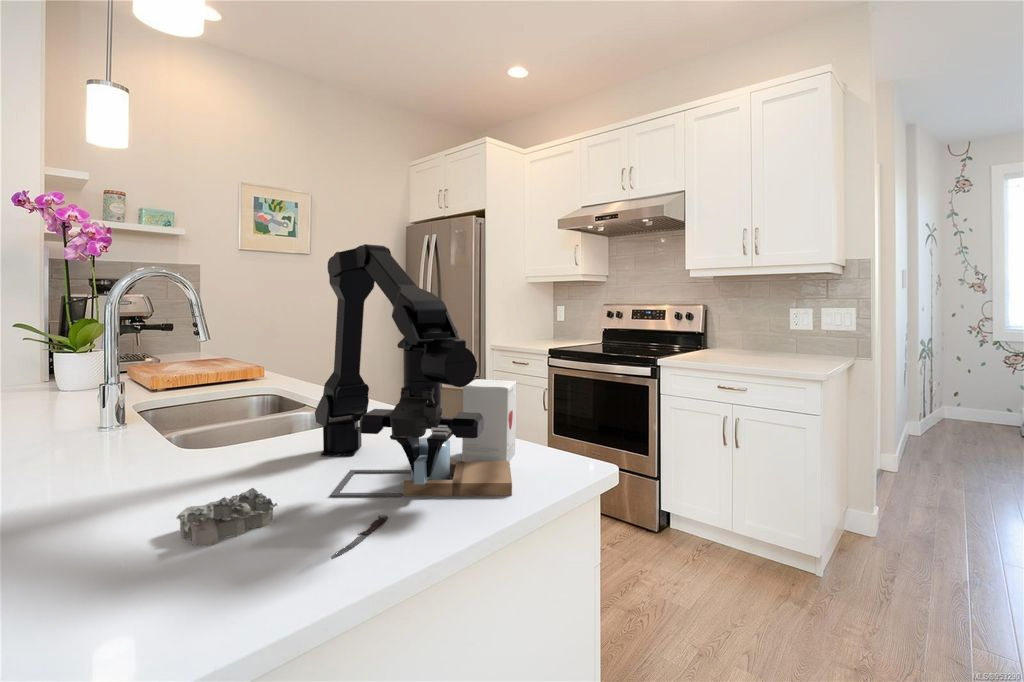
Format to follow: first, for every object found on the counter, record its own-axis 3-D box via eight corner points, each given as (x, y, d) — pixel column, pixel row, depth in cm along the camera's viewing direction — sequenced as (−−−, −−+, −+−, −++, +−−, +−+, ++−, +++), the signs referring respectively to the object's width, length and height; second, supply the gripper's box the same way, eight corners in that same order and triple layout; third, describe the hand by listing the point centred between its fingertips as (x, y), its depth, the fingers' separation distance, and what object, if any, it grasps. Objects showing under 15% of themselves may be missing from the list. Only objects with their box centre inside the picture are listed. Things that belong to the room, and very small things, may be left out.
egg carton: (195, 553, 63) (194, 521, 63) (173, 535, 68) (172, 505, 67) (281, 524, 71) (280, 495, 71) (256, 509, 76) (255, 482, 76)
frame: (329, 497, 81) (329, 495, 80) (350, 471, 92) (350, 469, 92) (400, 496, 81) (400, 494, 81) (412, 471, 93) (412, 469, 93)
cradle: (402, 495, 82) (402, 483, 81) (413, 472, 92) (413, 461, 92) (511, 495, 82) (512, 482, 82) (509, 472, 93) (509, 461, 93)
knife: (372, 512, 74) (390, 514, 73) (372, 517, 74) (391, 519, 73) (291, 573, 58) (314, 577, 57) (292, 580, 58) (314, 584, 57)
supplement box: (507, 466, 96) (508, 387, 95) (461, 463, 98) (461, 385, 97) (516, 452, 105) (517, 380, 104) (474, 449, 107) (474, 378, 106)
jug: (416, 475, 91) (416, 436, 90) (453, 477, 90) (453, 437, 90) (398, 499, 80) (398, 455, 79) (439, 501, 80) (439, 456, 79)
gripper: (342, 385, 74) (344, 491, 75) (470, 389, 71) (469, 499, 73) (373, 374, 85) (374, 467, 86) (484, 377, 82) (484, 472, 84)
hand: (422, 476), depth 82 cm, fingers closed on jug, 2 cm apart
